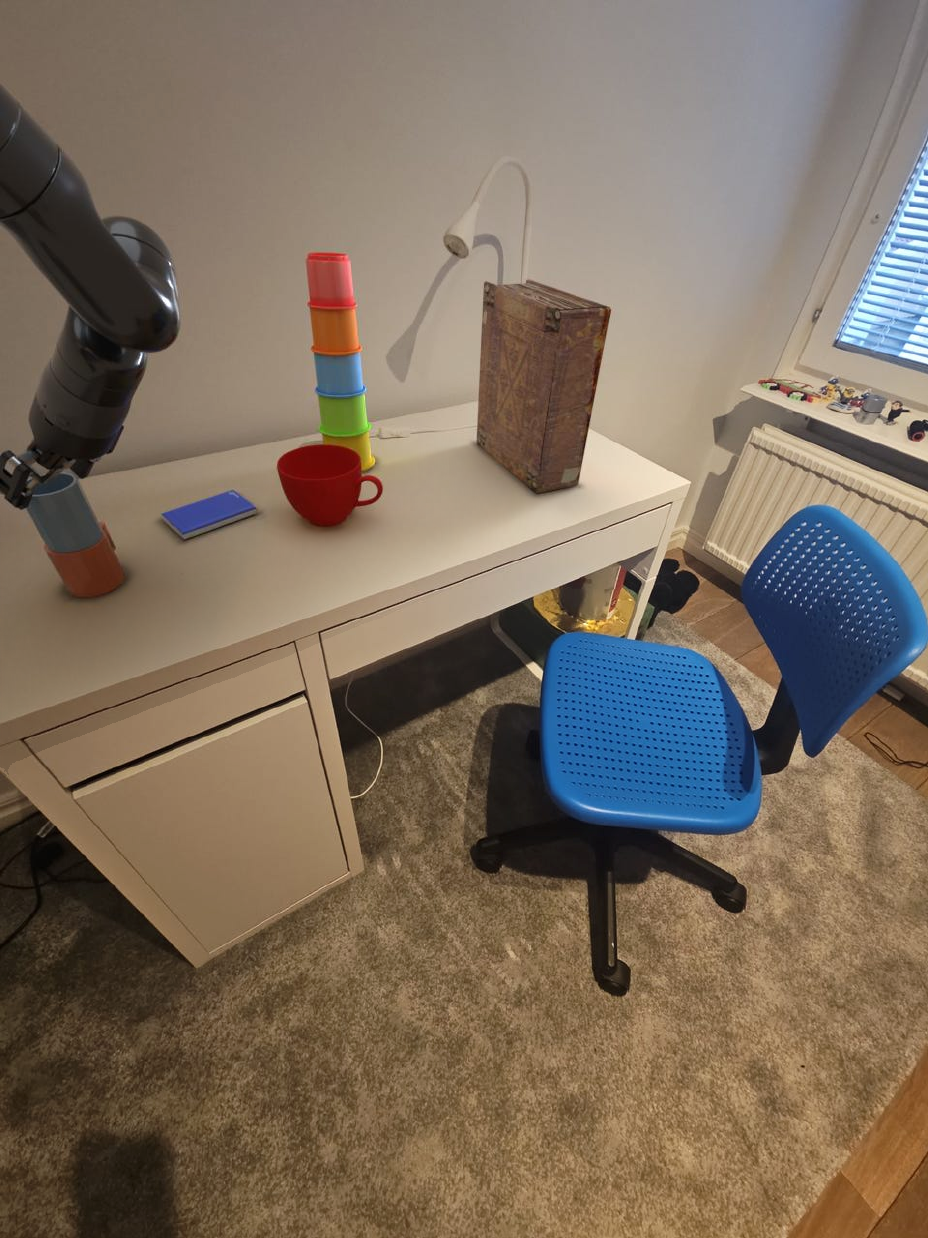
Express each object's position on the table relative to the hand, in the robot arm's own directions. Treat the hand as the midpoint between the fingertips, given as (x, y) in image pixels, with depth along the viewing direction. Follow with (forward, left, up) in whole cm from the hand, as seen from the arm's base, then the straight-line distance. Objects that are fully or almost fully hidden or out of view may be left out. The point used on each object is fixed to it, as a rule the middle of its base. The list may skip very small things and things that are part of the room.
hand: (48, 487), depth 66 cm
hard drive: (+18, -10, -15) cm, 25 cm away
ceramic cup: (+18, -31, -15) cm, 39 cm away
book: (+41, -65, -15) cm, 78 cm away
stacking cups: (+39, -30, -15) cm, 51 cm away
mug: (+2, 0, -15) cm, 15 cm away
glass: (0, 0, -8) cm, 8 cm away
